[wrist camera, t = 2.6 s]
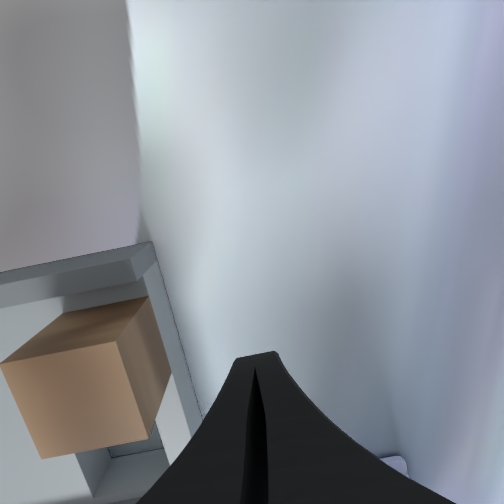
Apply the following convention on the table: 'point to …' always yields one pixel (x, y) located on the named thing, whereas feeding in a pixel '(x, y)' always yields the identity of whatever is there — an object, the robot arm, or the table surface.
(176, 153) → the table surface
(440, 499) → the robot arm
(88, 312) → the block
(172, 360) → the trap lane
